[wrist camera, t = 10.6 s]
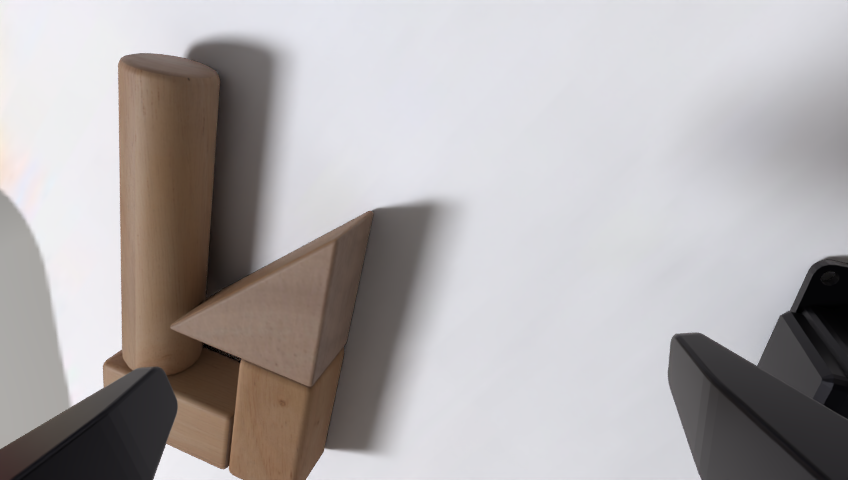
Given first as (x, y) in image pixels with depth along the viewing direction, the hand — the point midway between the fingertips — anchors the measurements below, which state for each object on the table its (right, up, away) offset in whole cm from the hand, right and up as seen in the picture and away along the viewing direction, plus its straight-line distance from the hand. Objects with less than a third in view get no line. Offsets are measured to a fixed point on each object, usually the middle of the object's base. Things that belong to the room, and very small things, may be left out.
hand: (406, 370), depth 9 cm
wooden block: (-10, -8, +18) cm, 22 cm away
